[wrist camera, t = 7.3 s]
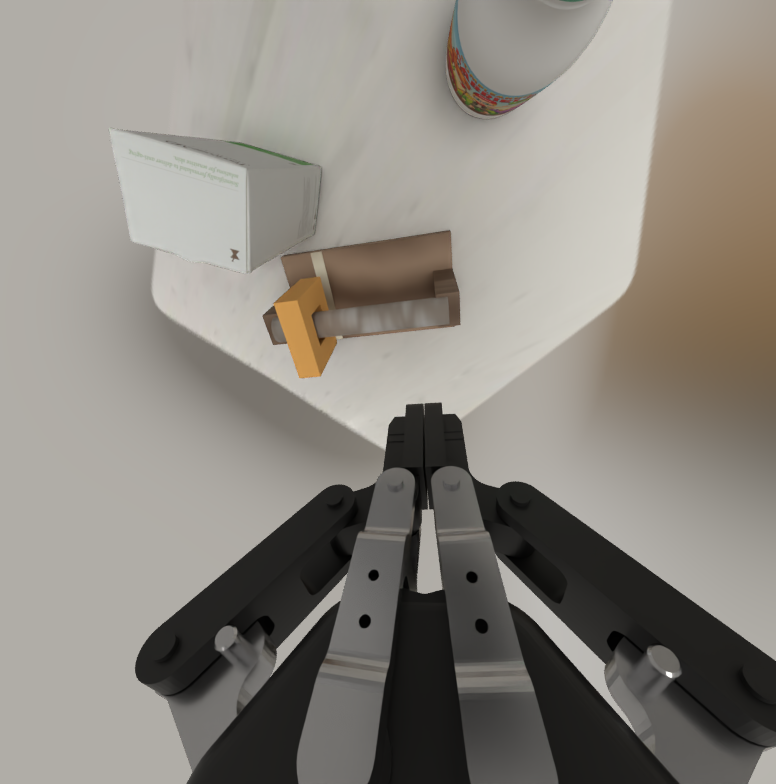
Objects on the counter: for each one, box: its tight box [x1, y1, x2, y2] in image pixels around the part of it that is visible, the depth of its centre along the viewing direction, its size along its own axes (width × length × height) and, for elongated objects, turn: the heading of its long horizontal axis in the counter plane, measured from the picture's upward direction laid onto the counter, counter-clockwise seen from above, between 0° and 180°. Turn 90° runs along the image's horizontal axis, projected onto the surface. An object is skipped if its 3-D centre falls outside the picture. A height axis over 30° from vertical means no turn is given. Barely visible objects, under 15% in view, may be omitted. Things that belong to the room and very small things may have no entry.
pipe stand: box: [263, 230, 460, 345], centre depth 33 cm, size 10×18×10 cm, turn 99°
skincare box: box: [109, 128, 322, 274], centre depth 26 cm, size 8×7×16 cm
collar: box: [273, 277, 337, 378], centre depth 31 cm, size 7×2×7 cm, turn 9°
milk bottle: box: [446, 0, 613, 119], centre depth 18 cm, size 8×8×20 cm
